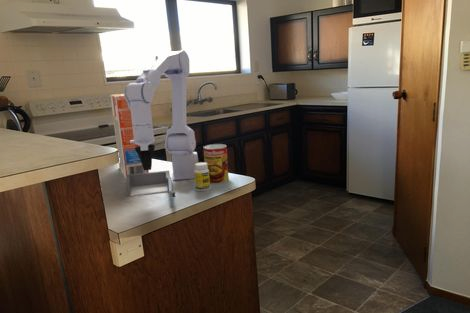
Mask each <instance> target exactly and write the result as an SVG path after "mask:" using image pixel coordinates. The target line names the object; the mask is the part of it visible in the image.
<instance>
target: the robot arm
mask: <svg viewBox="0 0 470 313" xmlns="http://www.w3.org/2000/svg"><path fill="white" fill-rule="evenodd" d="M162 75H164V77H166V78H167V79H170V81H171V113H172V114H171V115H172V116H171V117H172V118H171V120H172V121H171V123H172V126H171V127H170V128H168V129H167V130H166V132H165V140H164V146H165V150H166V151H167V152H168V154H169V155H171V164H172V165H171V166H172V173H171V179H172V181H182V180H187V179H188V180H190V179H195V175H194V171H195V170H196V169H195V164H196V163H199V157H198V152H197V151H195V149H196V147H197V141H196V137H195V131H194V130H193V129H192V128H191V127H190V126H188V124H187V122H188V121H187V120H188V119H187V78H188V77H189V76H190V58H189V55H188V53H187V52H186V51H185V50H184V49H183V50H176V51H175V50H174V51H159V52H157V53H156V54H155V62H154V63H153V65H152V67H151V68H144V69H143V70H142V73H140V75H139V76H138V77H137V78H136V80H135V81H134V82H130V83H128V84H127V85H126V87H125V88H124V93H123V94H124V96H125V99H126V101H127V103H128V108H129V109H130V110H131V118H132V126H133V135H134V140H130V143H134V144H137V145H139V146H137V147H135V151H136V152H137V154H138V155H139V157H140V160H141V163H142V166H143V169H144V170H149V171H151V170H152V166H153V164H152V163H153V156H154V155H153V154H154V151H155V149H156V147H155V146H156V145H155V143H154V142H155V141H156V139H155V135H154V127H153V125H154V124H153V117H152V108H151V102H152V101H153V99H154V94H155V91H156V89H157V87H158V86H159V84H160V83H161V80H162V79H161V77H162ZM153 143H154V144H153Z"/></svg>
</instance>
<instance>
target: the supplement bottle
mask: <svg viewBox="0 0 470 313" xmlns="http://www.w3.org/2000/svg"><path fill="white" fill-rule="evenodd" d="M207 168H208V165H207V163H205V161H203V162H201V161H200V162H198V163H196V164H195V169H196V170H195V171H194V175H195V178H194V185H195V186H194V187H195V190H196V192H197V191H198V192H204V191H205V192H206V191H208V190H210V189H211V183H210V178H209V169H207Z"/></svg>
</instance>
